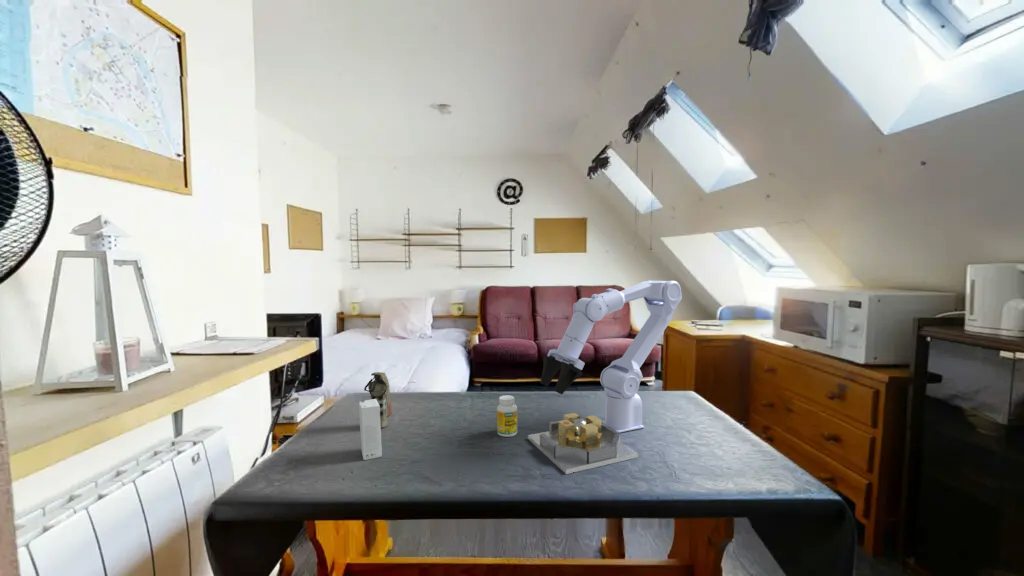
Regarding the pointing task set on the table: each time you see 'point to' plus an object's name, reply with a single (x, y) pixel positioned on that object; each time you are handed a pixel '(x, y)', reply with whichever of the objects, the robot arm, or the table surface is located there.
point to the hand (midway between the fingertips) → (550, 388)
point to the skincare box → (370, 429)
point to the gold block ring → (588, 432)
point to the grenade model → (380, 395)
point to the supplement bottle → (506, 416)
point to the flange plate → (579, 465)
